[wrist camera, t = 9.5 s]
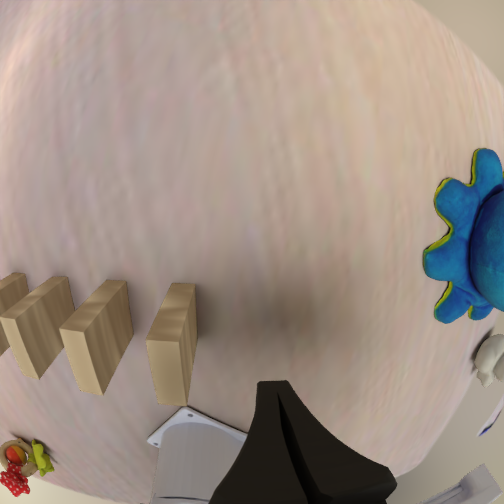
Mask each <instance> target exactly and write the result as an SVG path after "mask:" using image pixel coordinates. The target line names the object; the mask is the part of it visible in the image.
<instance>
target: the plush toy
mask: <svg viewBox="0 0 504 504" xmlns="http://www.w3.org/2000/svg"><path fill="white" fill-rule="evenodd" d="M472 160H473V166H472V174H473V180H472V184H471V185H470V184H466V185H465V184H464V183H462V182H460V181H459V180H456V179H453V178H448V179H447V180H444V181H443V182H442V183H441V185H440V186H439V187H438V188H437V190H436V192H435V197H434V202H435V210H436V212H437V213H438V215H439V216H440V217H441V218H442V219H443V220H445V222H446V223H447V224H448V225H449V227H450V228H451V230H450V233H449V234H448V235H447V236H444V237H443V238H442V239H441V240H438V241H437V242H435V243H434V244H432V245H431V246H430V247H429V248H428V249H426V250H424V252H423V254H424V258H423V266H424V270H425V273H426V275H427V276H428V277H430V278H433V279H435V280H439V281H449V288H448V289H447V290H446V292H445V293H444V296H443V298H442V299H440V300H439V302H438V303H437V304H436V306H435V312H434V314H435V318H436V319H437V320H438V321H440V322H443V323H445V324H447V323H451V322H453V321H454V320H456V319H457V318H459V317H461V316H462V315H464V314H465V312H466V311H467V310H468V309H469V310H468V314H469V315H468V316H469V318H470V319H473V320H481V319H483V318H485V317H486V316H487V315H488V314H489V313H490V312H491V311H492V309H493V308H496V309H499V310H501V311H503V312H504V172H502V166H501V162H500V160H499V157H498V156H497V154H496V153H495V152H494V151H493V150H490V149H486V148H484V149H483V148H482V149H478V150H476V151H475V152H474V157H473V159H472Z"/></svg>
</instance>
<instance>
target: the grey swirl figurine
mask: <svg viewBox="0 0 504 504" xmlns="http://www.w3.org/2000/svg"><path fill="white" fill-rule="evenodd" d="M475 366H476V368H477V369H478V372H477V375H476V376H477V378H479V379H480V380H481V383H482V385H483V387H488V386H489V385H490V384H491V383H492V382H493V380H494V377H495V375H496V377H497V379H498V380H499V381H501V382H504V335H502V334H497V335H494V336H491V337H489V338H488V339H486V340H485V341H484V342H483V344H482V345H481V347H480V349H479V351H478V353H477V356H476V359H475Z"/></svg>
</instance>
